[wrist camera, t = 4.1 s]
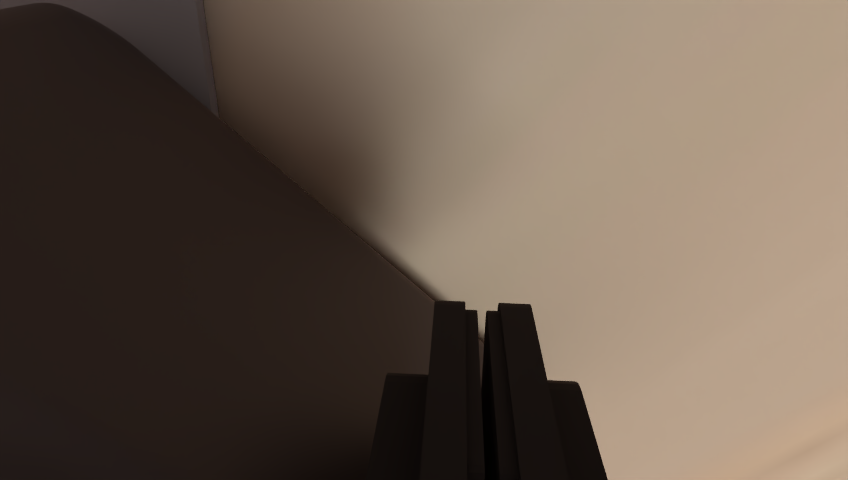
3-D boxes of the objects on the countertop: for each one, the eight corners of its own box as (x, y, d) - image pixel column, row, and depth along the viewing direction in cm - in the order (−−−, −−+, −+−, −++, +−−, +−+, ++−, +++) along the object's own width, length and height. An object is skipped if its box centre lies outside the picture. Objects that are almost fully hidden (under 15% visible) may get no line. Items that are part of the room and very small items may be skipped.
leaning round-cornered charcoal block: (-6, 118, 14) (-691, 398, 6) (80, -26, 12) (-731, 71, 4) (449, 454, 19) (441, 861, 11) (556, 386, 17) (647, 810, 9)
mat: (187, -110, 12) (179, -112, 12) (264, 441, 19) (260, 450, 19) (-280, -114, 13) (-301, -116, 12) (-44, 422, 20) (-54, 430, 19)
